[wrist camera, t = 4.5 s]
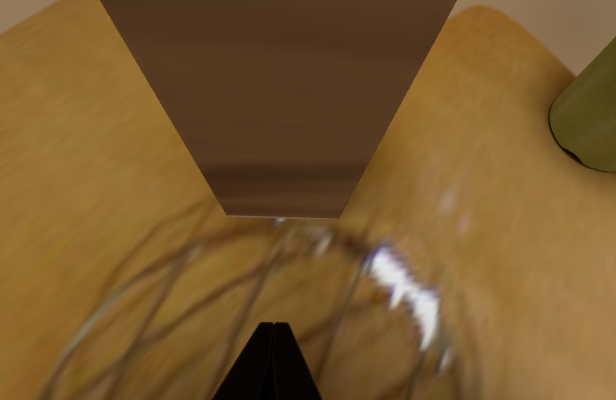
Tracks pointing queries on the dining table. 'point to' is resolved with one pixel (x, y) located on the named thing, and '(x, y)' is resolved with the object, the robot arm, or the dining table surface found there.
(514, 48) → the dining table surface
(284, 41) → the walnut block
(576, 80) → the plant pot
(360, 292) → the dining table surface
